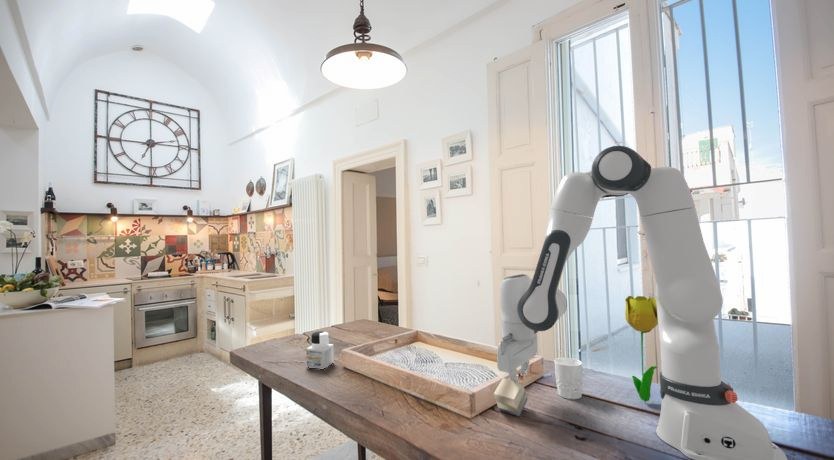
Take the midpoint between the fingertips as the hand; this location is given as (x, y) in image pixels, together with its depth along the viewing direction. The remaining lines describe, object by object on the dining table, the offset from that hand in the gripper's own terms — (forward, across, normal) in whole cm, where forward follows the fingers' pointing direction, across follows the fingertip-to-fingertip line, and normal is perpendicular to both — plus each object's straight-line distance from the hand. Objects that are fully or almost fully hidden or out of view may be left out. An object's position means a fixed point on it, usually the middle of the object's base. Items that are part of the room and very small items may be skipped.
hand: (519, 379), depth 105 cm
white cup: (+7, +14, -9) cm, 19 cm away
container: (+6, -14, +76) cm, 77 cm away
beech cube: (+6, -4, 0) cm, 7 cm away
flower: (+8, +21, -28) cm, 36 cm away
